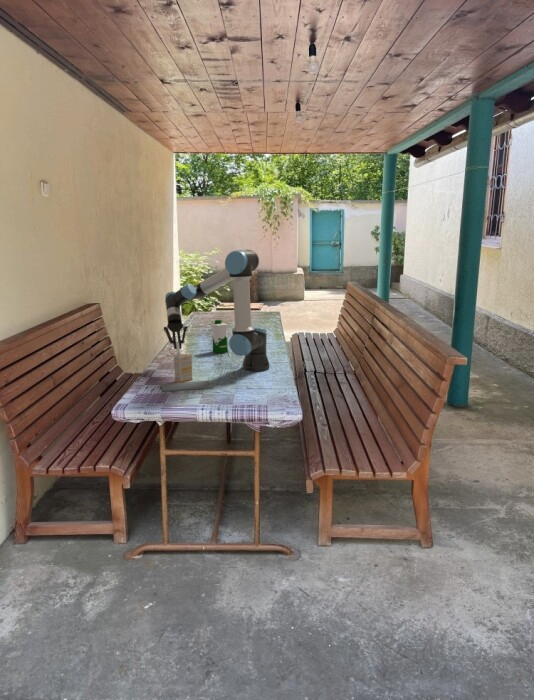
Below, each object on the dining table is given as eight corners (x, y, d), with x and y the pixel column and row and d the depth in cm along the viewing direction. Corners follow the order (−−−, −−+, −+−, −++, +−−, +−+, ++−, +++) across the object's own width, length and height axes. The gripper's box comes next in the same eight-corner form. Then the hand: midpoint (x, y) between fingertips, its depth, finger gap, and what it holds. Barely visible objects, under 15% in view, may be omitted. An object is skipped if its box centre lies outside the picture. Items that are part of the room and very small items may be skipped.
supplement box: (186, 378, 273) (185, 353, 270) (192, 379, 270) (192, 354, 267) (174, 381, 266) (173, 356, 264) (180, 383, 263) (179, 357, 261)
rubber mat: (208, 381, 266) (208, 380, 266) (213, 388, 255) (213, 387, 255) (160, 385, 260) (160, 384, 259) (162, 392, 248) (162, 390, 248)
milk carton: (222, 350, 339) (222, 319, 335) (230, 352, 332) (229, 321, 327) (210, 351, 334) (210, 320, 329) (218, 354, 327) (217, 322, 322)
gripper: (185, 320, 293) (190, 357, 281) (161, 321, 290) (165, 358, 278) (186, 312, 287) (191, 349, 275) (162, 313, 284) (166, 350, 272)
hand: (178, 353), depth 276 cm, fingers closed
